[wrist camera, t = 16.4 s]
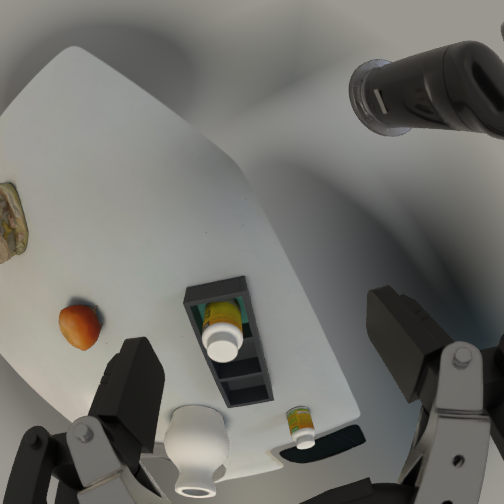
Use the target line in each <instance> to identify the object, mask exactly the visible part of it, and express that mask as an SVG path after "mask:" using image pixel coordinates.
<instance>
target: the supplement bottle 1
mask: <svg viewBox="0 0 504 504" xmlns="http://www.w3.org/2000/svg"><path fill="white" fill-rule="evenodd" d="M202 342H203V345H204V347H205V348H206V349H207V354H208V356H209V357H210V358H211V359H212V360H214V361H217V362H229V361H231V360H233V359H234V358H235V357H236V356H237V354H238V350H239V348H240V347H241V346H242V343H243V332H242V320H241V309H240V305H239V303H238V302H237V300H236V299H234V298H231V299H226V300H221V301H216V302H211V303H207V304H206V306H205V313H204V322H203V331H202Z"/></svg>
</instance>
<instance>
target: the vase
mask: <svg viewBox="0 0 504 504" xmlns="http://www.w3.org/2000/svg"><path fill="white" fill-rule="evenodd" d="M164 446H165V449H166V453H167V455H168V457H169V458H170V459H171V461H172V462H173V463H174V464H175V465H176V467H177V468H178V470H179V472H180V475H179V478H178V480H177V482H176V485H175V491H176V492H177V493H179V494H181V495H184V496H188V497H195V498H207V497H212V496H214V495H216V488H215V485H214V483H213V480H212V475H213V473H214V471H215V470H216V469H217V468H218V467H219V466H220V465H222V464H223V463H224V462H225V460H226V459H227V457H228V453H229V438H228V435H227V432H226V429H225V426H224V419H223V417H222V415H221V414H220V413H219V412H217V411H216V410H214V409H212V408H208V407H205V406H196V405H190V406H183V407H180V408H178V409H176V410H175V412H174V413H173V415H172V420H171V423H170V425H169V427H168V429H167V432H166V434H165V438H164Z"/></svg>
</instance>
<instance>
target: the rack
mask: <svg viewBox="0 0 504 504" xmlns="http://www.w3.org/2000/svg"><path fill="white" fill-rule="evenodd" d="M231 298H234V299H236V300H237V302H238V303H239V305H240V309H241V320H242V332H243V343H242V346H241V347H240V348H239V350H238V354H237V356H236V357H235V358H234V359H233V360H231V361H229V362H217V361H214V360H212V359H211V358H210V357H209V356H208V354H207V349H206V348H205V347H204V345H203V342H202V331H203V322H204V313H205V306H206V304H207V303H211V302H216V301H221V300H226V299H231ZM183 304H184V307H185V309H186V312H187V315H188V317H189V320H190V322H191V325H192V327H193V330H194V332H195V335H196V337H197V340H198V342H199V345H200V347H201V349H202V352H203V354H204V357H205V359H206V361H207V364H208V366H209V368H210V370H211V373H212V375H213V377H214V379H215V382H216V384H217V386H218V388H219V390H220V393H221V395H222V397H223V399H224V401H225V403H226V405H227V407H228V408H233V407H239V406H246V405H252V404H257V403H263V402H268V401H273V400H274V397H273V392H272V386H271V382H270V378H269V374H268V370H267V366H266V362H265V358H264V354H263V350H262V346H261V342H260V337H259V333H258V329H257V325H256V321H255V317H254V313H253V309H252V304H251V300H250V296H249V292H248V288H247V284H246V279H245V276H241V277H236V278H232V279H227V280H222V281H217V282H212V283H207V284H203V285H198V286H193V287H188V288H187V289H186V293H185V297H184V302H183Z"/></svg>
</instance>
